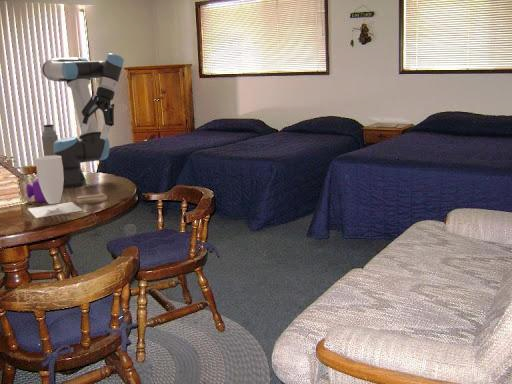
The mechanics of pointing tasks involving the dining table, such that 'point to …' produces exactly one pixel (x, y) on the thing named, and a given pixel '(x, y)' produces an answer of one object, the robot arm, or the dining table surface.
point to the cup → (50, 177)
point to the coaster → (91, 198)
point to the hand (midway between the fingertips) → (93, 135)
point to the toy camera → (35, 191)
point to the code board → (54, 210)
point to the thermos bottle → (49, 140)
